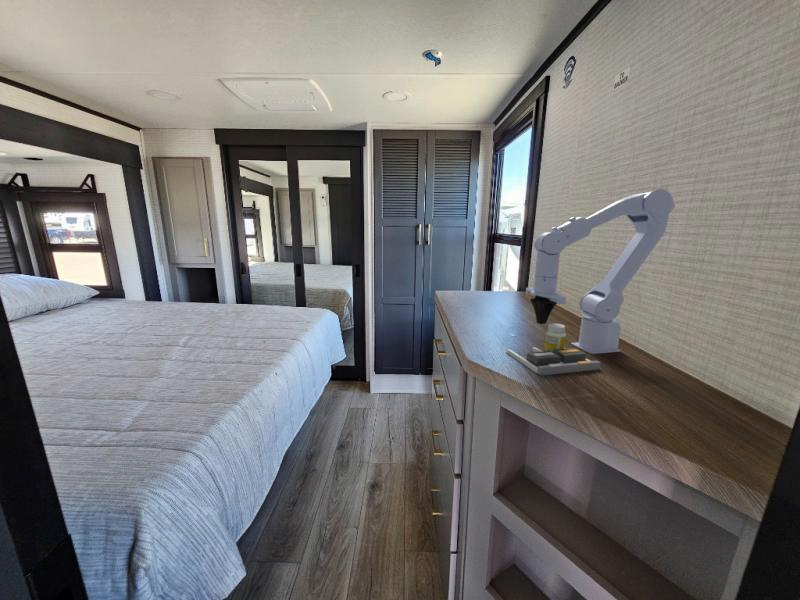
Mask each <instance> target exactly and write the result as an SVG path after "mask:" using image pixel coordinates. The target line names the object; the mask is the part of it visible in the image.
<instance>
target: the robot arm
mask: <svg viewBox="0 0 800 600" xmlns="http://www.w3.org/2000/svg"><path fill="white" fill-rule="evenodd" d="M673 199H674V198H673V195H672V194H671V192H670V191H669V190H666V189H664V188H659V189H654V190H651V191H646V192H640V193H639V192H638V193H637V192H636V193H633V194H631V195H629V196H626V197H622V198H621V199H619V200H616V201H615V202H613V203H611V204H609V205H607V206H606V207H604V208H602V209H600V210H598V211H597V212H595V213H593V214H591V215H589V216H588V217H586V218H585V217H583V216H577V217H576V216H573V217H570V218H568V221H567V222H565V223H563V224H562V225H560V226H553V227H552V228H551V231H549V232H543V233H541V234H539V235H538V237H536V241H535V242H534V248H535V250H536V252H537V254H536V262H535V272H534V281H533V282H534V283H533V287H525V295H531V296H534V297H533V298H530V302H531V304H532V306H533V309H534V313H535V318H536V323H537V324H540V325H545V324H547V322H548V319H549V317H550V314H551V312H552V311H553V309H554V308H555V307H556V306H557V304H558V305H567V304H566V303H567V296H565V295H563V294H561V293H559V292H557V285H558V276H559V267H560V257H561V253H562V252H563V251H564V249H565V247H569V246H570V245H573V244H574V243H577V242H579V241H581V240H582V239H584V238H586V237H589V236H590V234H591V231H592V230H593V229H594V228H596V227H599V226H601V225H603V224H606V223H608V222H610V221H612V220H615V219H616V218H619V217H622V216H623V217H624V216H626V218H627V219H628V220H629V221H630V223H631V224H632V225H633V226H634V229H635V234H634V235H633V237H632V238H631V240H630V241H629V243H628V244H627V246H626V247H625V248H624V250H623V251H622V253H621V254H620V255H619V257H618V258H617V260H616V261H615V262H614V263H613V265H612V267H611V268H610V270H609V271H608V272H607V274H606V275H605V277H604V278H603V280H602V281H601V282H600V283H598V284H596V285H594V286H593V287H592V288H591V289H590V290H589V291H588V292H586V293H585V294H583V295H582V296H581V298H580V300H579V302H578V303H579V304H578V305H579V308H580V310H581V311H582V315H581V323H580V328H579V337H578V342H577V341H575V342H571V343H570V345H572V346H574V347H576V348H578V349H580V350H581V351H582V350H583V352H587V353H589V354H590V355H591V354H592V355H596V354H607V353H609V354H610V353H619V352H620V351H621V350H620V349H619V344H620V343H619V342H620V341H619V340H620V335H621V330H622V329H621V324H620V322H618V320H616V318H617V317H618V315H619V314H620V311H621V306H622V304H623V303H624V301H625V298H624V294H623V291H624V290H625V289H626V287H627V286H628V285H629V283H630V282H631V281H632V279H633V277H635V275H636V273H637V272H638V271H639V270H640V267H641V266H642V265H643V264H644V263H645V262H646V260H647V258H648V257H649V255H650V254H651V253H652V252H653V250H654V249H655V247H656V246H657V244H658V243H659V241H660V240H661V238H663V236H664V235H665V232H666V229H667V224H668V220H669V215H670V214H671V213H672V211H673V209H674V208H675V207H676V205H675V202H674V200H673Z"/></svg>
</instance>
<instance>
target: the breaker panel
mask: <svg viewBox="0 0 800 600" xmlns="http://www.w3.org/2000/svg"><path fill="white" fill-rule="evenodd" d="M564 349H567V348H566V347H565V348H564ZM531 351H532V352H540V351H542V350H541V349H539V348H537V347H535V346H534V347H532V348H531ZM506 354H508V355H509V356H511V357H512V358H513V359H515V360H517V361H518V363H519V362H520V364H522V365H524V366H525V367H527V368H528V369H529V370H532V372H534V373H535V374H537V375H538V376H548V375H558V374H559V375H560V374H566V373H579V372H586V371H596V370H600V369H601V361H599V360H591V359H588V358H586V360H585V361H580V362H577V363H567V364H564V363H562V362H561V361H560V363H558V364H548V365H546V366H538V367H536V366H535V365H533V364H532V363H530V362H529V361H527V358H525V357H523V356H521V355H520V354H518V353H516V352H515V351H514V350H512V349H511V348H507V349H506Z"/></svg>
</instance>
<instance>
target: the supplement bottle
mask: <svg viewBox="0 0 800 600" xmlns="http://www.w3.org/2000/svg"><path fill="white" fill-rule="evenodd" d="M566 338H567V334H566V325H565V324H562V323H554V322H553V323H548V327H547V331H546V334H545V341H544V342H545V343H544V350H543V351H551V352H553V350H555V349H564V348H566V340H567V339H566Z"/></svg>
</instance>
